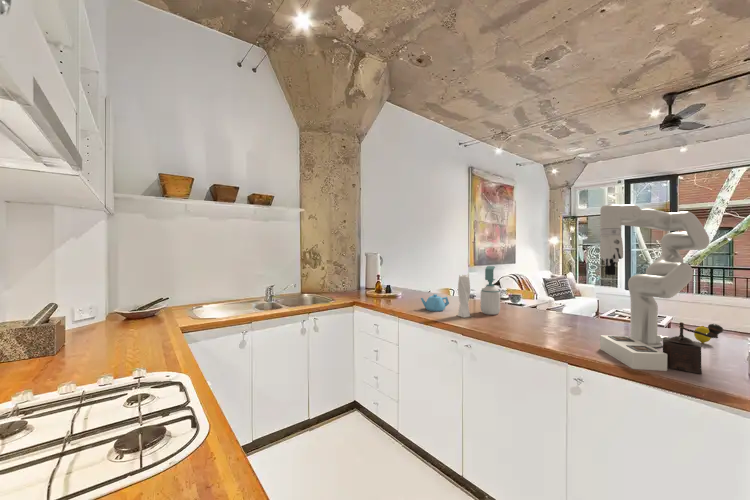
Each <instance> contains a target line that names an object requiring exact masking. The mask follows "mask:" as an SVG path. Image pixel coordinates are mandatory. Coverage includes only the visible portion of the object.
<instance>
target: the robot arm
mask: <svg viewBox="0 0 750 500" xmlns="http://www.w3.org/2000/svg"><path fill="white" fill-rule="evenodd" d="M599 217H600V219H599V221H600V222H599V224H600V227H599V228H600V231H599V234H600V236H599V237H600V243H599V244H600V245H599V257H600V258H601V259H602V261H603V262H604V270H605V273H604V274H605V275H608V276H615V275H616V265H617V263H618V262H620V260H621V259H623V258H624V244H623V238H622V226H626V227H627V226H628V227H636V228H648V229H652V230H656V231H657V230H658V231H663V232H668V233H665V234H664V235H663V236H662V238H661V239H660V244H661V245H660V246H661V255H660V256H659V257H658V258H657V259H656V260H654V261H653V262H652V263H651V264H650V265H649V266H648V267H647V268H646V269H645V273H644V274H643V273H642V274H641V273H640V274H635V275H632V276H631V277H630V278H628V281H627V286H628V287H627V288H628V291H629V296H630V297H629V298H630V321H629V322H630V327H629V328H630V329H629V332H630V335H629V337H631V338H633V339H635V340H638V341H640V342H642V343H644V344H646V345H648V346H651V347H653V348H661V347H663V338H664V337H665V336H663V335H659V334H658V311H659V309H658V308H659V307H658V303H657V301H656V299H655V298H659V299H672V298H674V297H675V296H676V295H677V294H679V293H680V291H682V290H683V289H684V288H685V287H686V286H687V285H688V284H689V283H690V282H691V280H692V278H693V274H694V270H693V268H692V266H691V265H689V264H688V263H686V262H684V258H683V256H682V254H680V252H679V251H701V250H704V249H705V250H706V249H707V248H708V246H709V245H710V237H709V234H708V232H707V231H706V229H705V228H704V226H703V224H702V223H701V221H700V219H699V218H698V217H697V216H696V215H695V213H692V212H690V211H677V212H666V211H662V210H658V209H654V208H653V209H652V208H640V206H638V205H636V204H630V203H629V204H606V205H602V206H601V207H600V215H599ZM672 231H673V232H672Z"/></svg>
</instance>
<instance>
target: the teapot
mask: <svg viewBox="0 0 750 500" xmlns="http://www.w3.org/2000/svg"><path fill="white" fill-rule="evenodd" d="M420 300H421V302H422V304H423V306H424V308H425V310H427V311H430V312H443V311H445V309H446V307H447V306H448V305H450V302H449V299H448V297H447V296H445V297H441V296H438V294H435V293H434V294H433V295H431V296H430V295H429V297H428V298H427V299H426V301H425V299H424V298H423V297H420ZM444 300H445V301H444Z"/></svg>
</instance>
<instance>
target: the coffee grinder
mask: <svg viewBox="0 0 750 500" xmlns="http://www.w3.org/2000/svg"><path fill="white" fill-rule="evenodd" d="M678 328H679V335H677V336H676V335H675V336H672V337H671V336H670V337H669V336H663V337H664V338H663V341H662V352H664V353H666V354H667V369H670V370H676V371H679V372H680V371H681V372H686V373H693V374H694V373H695V374H700V375H701V374H702V373H703V370H702V345H701V344H702V343H701V342H700V341H697V340H695V341H694V340H692V339H690V338H688V337H687V336H684V330H685V331H687V332H691V333H693V334H694V333H697V334H701V335H704V336H706V337H710V338H711V339H719V334H721V333H723V332H724V328H723V327H722V326H721V324H720V325H719V324H716V323H710V324H708V325H707V328H708V329H709V333H708V334H705V333H702V332H698V331H695V329H690V328H687V327H685V323H684V322H682V321H681V322H679V326H678Z"/></svg>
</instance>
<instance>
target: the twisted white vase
mask: <svg viewBox="0 0 750 500" xmlns="http://www.w3.org/2000/svg"><path fill="white" fill-rule="evenodd" d="M470 281H471V280H470V273H469V272H468V273H467V274H462V275H460V274H459V275H458V281H457V296H458V301H459V304H458V305H459V307H458V313H457V315H455V317H457V316H458V317H457V318H462V319H467V318H472V317H473V315H470V314H471V313H470V305H469V301H470V295H471V282H470Z"/></svg>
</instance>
